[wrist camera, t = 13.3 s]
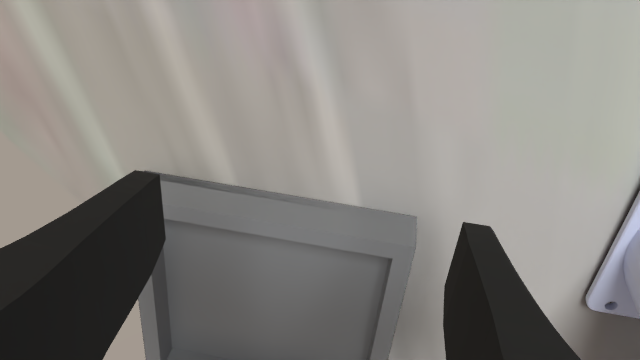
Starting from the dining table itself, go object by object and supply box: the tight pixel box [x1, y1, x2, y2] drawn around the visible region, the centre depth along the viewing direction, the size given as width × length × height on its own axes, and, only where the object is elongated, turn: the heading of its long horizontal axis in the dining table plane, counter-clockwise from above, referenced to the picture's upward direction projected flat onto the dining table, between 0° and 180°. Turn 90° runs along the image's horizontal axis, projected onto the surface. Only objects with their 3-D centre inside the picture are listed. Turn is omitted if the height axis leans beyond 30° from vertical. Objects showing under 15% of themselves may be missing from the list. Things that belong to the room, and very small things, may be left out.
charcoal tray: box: [138, 171, 417, 360], centre depth 28 cm, size 12×12×2 cm
